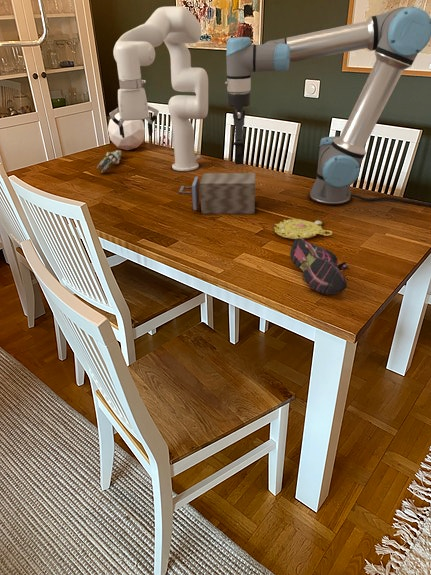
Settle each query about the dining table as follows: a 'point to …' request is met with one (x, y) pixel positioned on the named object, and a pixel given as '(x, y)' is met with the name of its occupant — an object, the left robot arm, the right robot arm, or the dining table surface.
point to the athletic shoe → (318, 267)
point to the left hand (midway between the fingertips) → (136, 136)
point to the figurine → (110, 160)
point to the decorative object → (300, 229)
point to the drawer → (194, 192)
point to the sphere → (127, 133)
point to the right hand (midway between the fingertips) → (239, 158)
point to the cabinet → (228, 193)
